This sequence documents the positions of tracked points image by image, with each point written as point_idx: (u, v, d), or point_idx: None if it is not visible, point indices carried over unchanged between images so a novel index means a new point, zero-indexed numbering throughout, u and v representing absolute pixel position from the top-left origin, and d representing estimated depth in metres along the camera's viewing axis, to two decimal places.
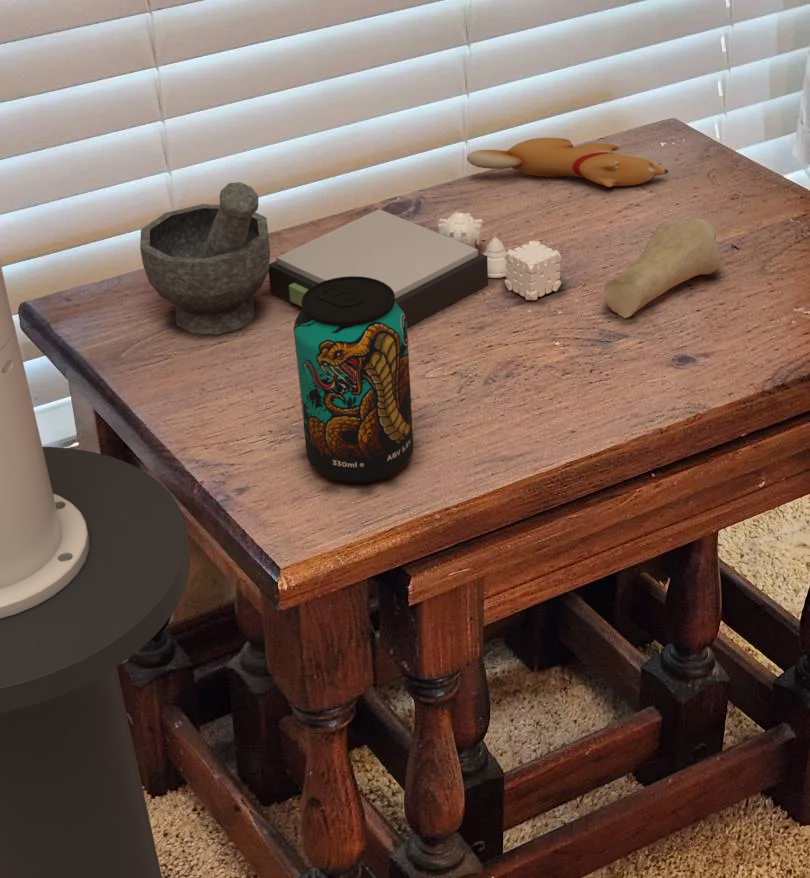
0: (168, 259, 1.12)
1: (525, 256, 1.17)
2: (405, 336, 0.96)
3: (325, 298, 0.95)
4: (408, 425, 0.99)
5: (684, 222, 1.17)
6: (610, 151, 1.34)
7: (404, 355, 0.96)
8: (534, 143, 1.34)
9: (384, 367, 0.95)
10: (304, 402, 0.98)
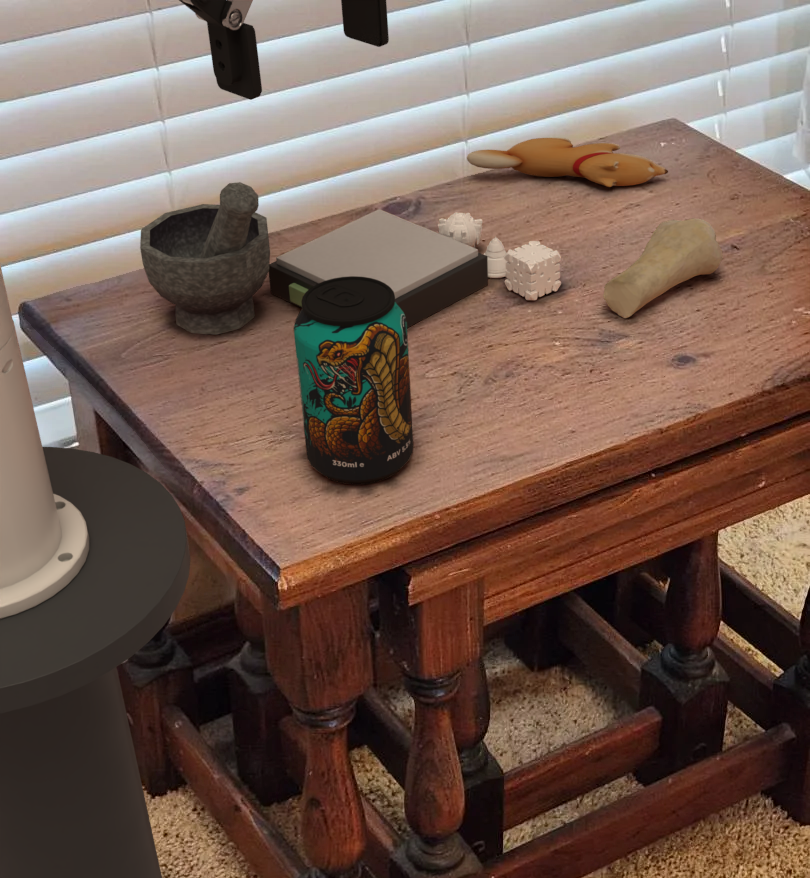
0: (168, 259, 1.12)
1: (525, 257, 1.17)
2: (405, 336, 0.96)
3: (325, 298, 0.95)
4: (408, 425, 0.99)
5: (684, 222, 1.17)
6: (610, 151, 1.34)
7: (404, 355, 0.96)
8: (534, 143, 1.34)
9: (384, 367, 0.95)
10: (304, 402, 0.98)
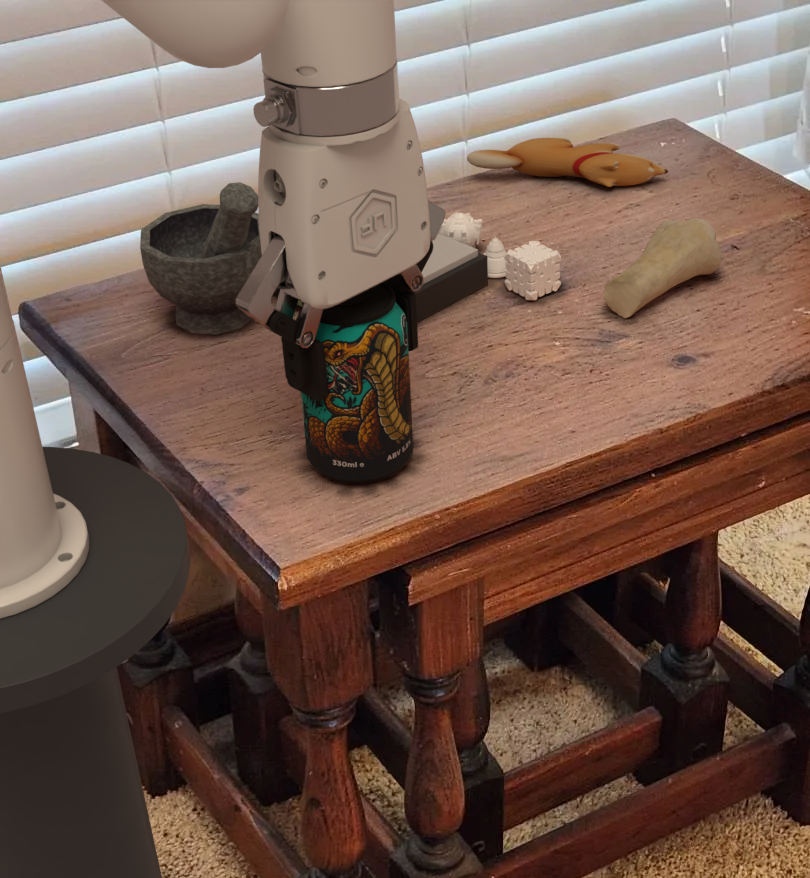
0: (168, 259, 1.12)
1: (525, 256, 1.17)
2: (405, 336, 0.96)
3: None
4: (408, 425, 0.99)
5: (684, 222, 1.17)
6: (610, 151, 1.34)
7: (404, 355, 0.96)
8: (534, 143, 1.34)
9: (385, 367, 0.95)
10: (304, 402, 0.98)
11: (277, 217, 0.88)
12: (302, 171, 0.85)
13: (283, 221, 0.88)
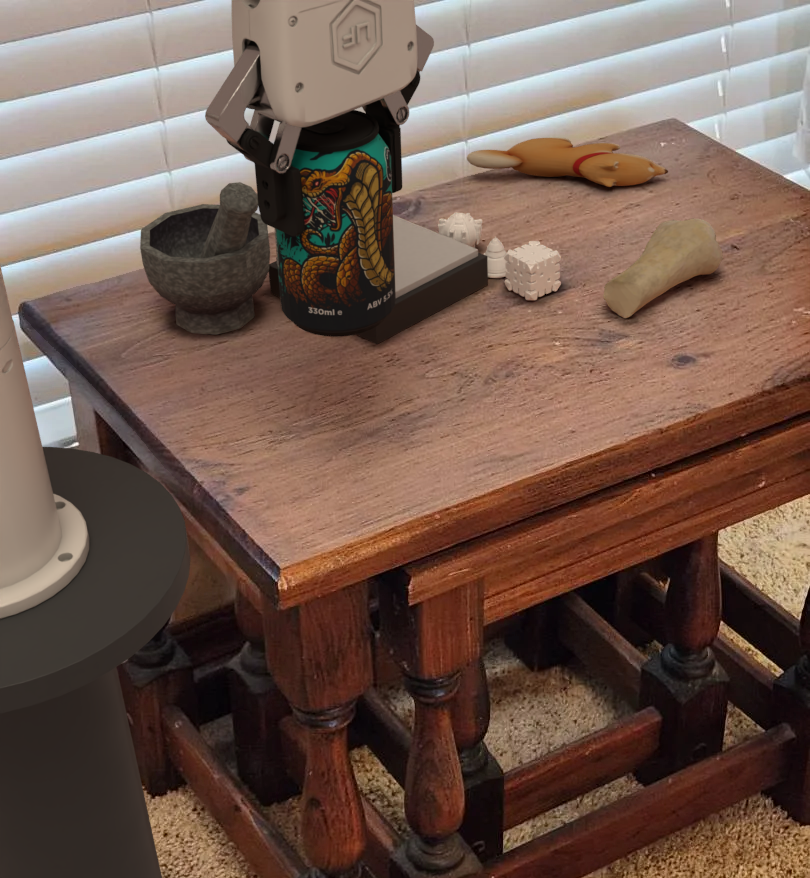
0: (168, 259, 1.12)
1: (525, 256, 1.17)
2: (389, 170, 0.89)
3: (303, 127, 0.88)
4: (390, 273, 0.92)
5: (684, 222, 1.17)
6: (610, 151, 1.34)
7: (387, 191, 0.89)
8: (534, 143, 1.34)
9: (366, 202, 0.88)
10: (279, 243, 0.91)
11: (251, 21, 0.81)
12: None
13: (258, 25, 0.81)
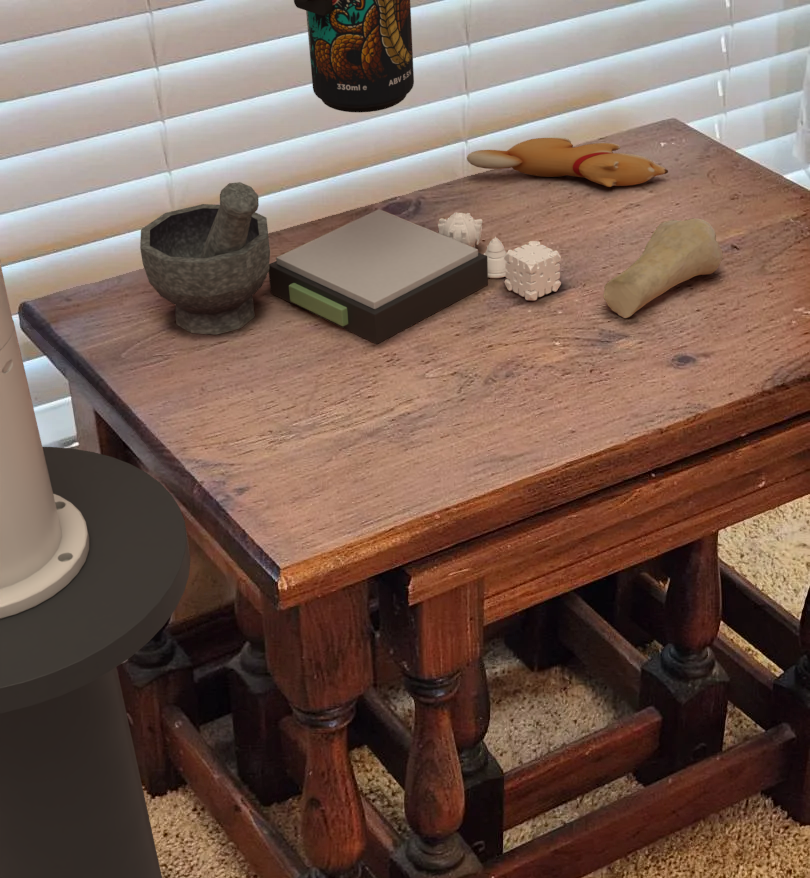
0: (168, 259, 1.12)
1: (525, 257, 1.17)
2: None
3: None
4: (409, 54, 1.05)
5: (684, 222, 1.17)
6: (610, 151, 1.34)
7: None
8: (534, 143, 1.34)
9: None
10: (311, 26, 1.04)
11: None
12: None
13: None
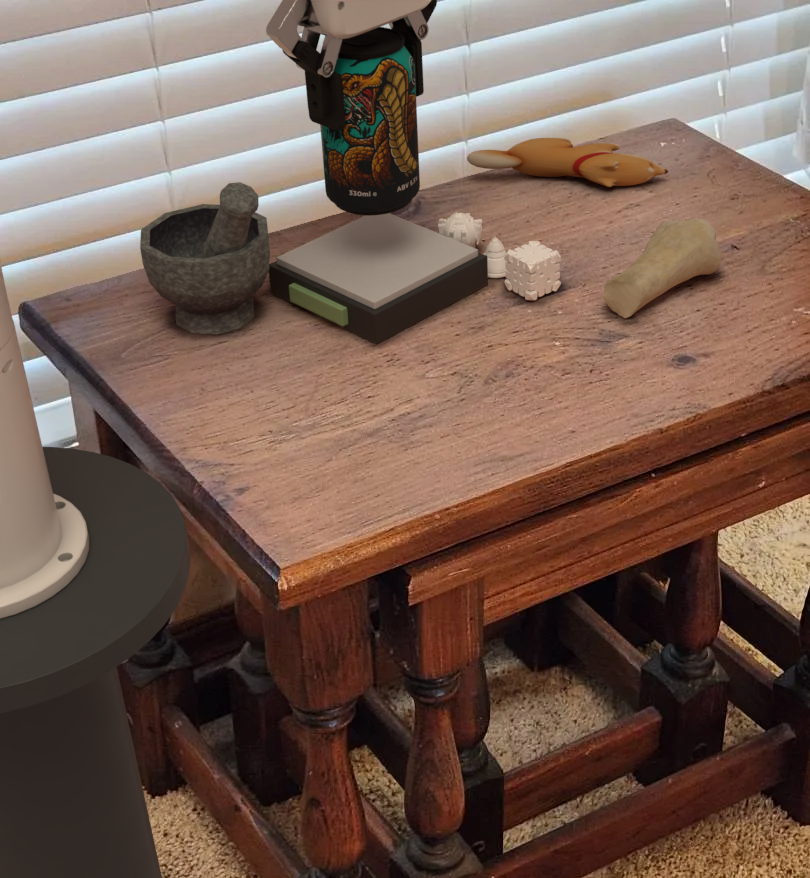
0: (168, 259, 1.12)
1: (525, 256, 1.17)
2: (413, 75, 1.10)
3: (343, 41, 1.09)
4: (415, 161, 1.13)
5: (684, 222, 1.17)
6: (610, 151, 1.34)
7: (412, 93, 1.10)
8: (534, 143, 1.34)
9: (395, 100, 1.09)
10: (324, 138, 1.12)
11: None
12: None
13: None
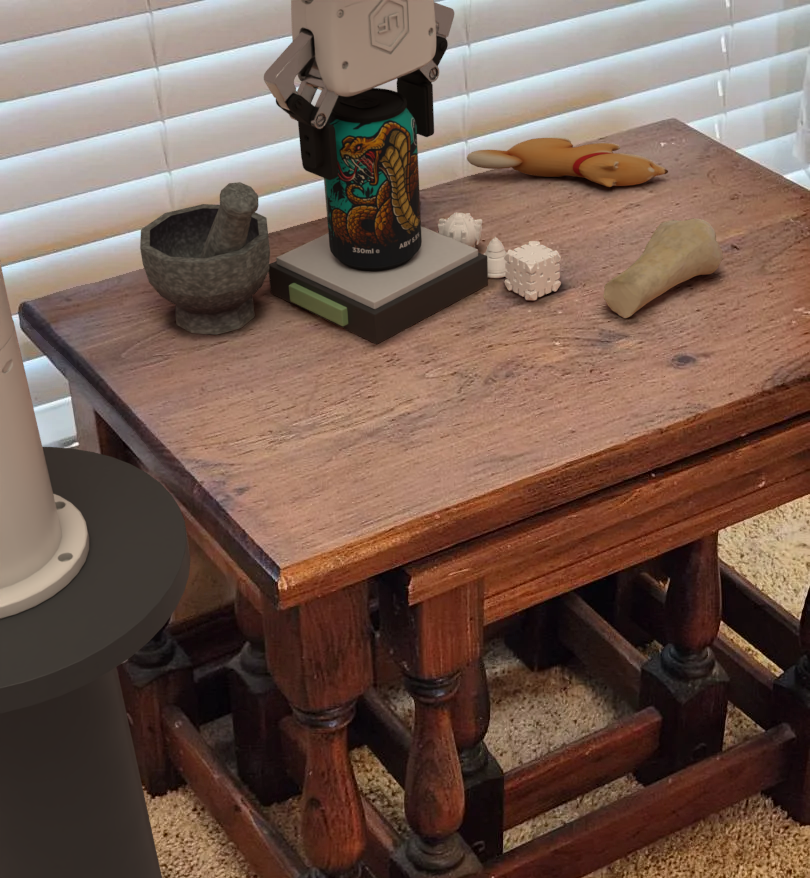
0: (168, 259, 1.12)
1: (525, 256, 1.17)
2: (415, 136, 1.12)
3: (347, 103, 1.12)
4: (417, 219, 1.16)
5: (684, 222, 1.17)
6: (610, 151, 1.34)
7: (414, 153, 1.13)
8: (534, 143, 1.34)
9: (397, 161, 1.11)
10: (328, 196, 1.14)
11: (307, 14, 1.04)
12: None
13: (312, 16, 1.04)
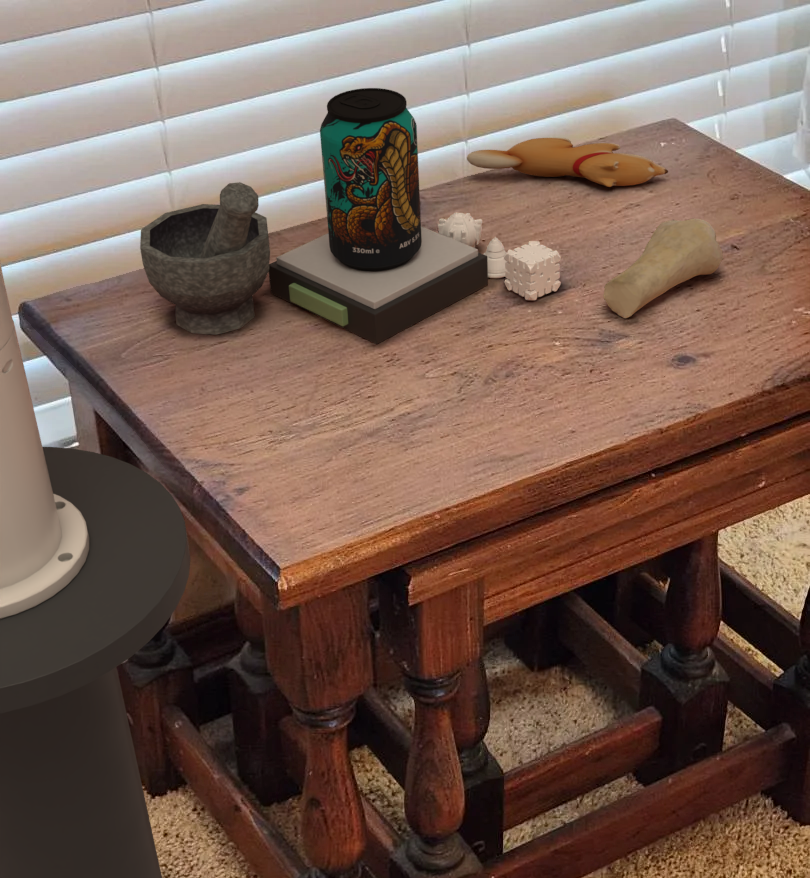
0: (168, 259, 1.12)
1: (525, 256, 1.17)
2: (415, 136, 1.12)
3: (347, 103, 1.12)
4: (417, 219, 1.16)
5: (684, 222, 1.17)
6: (610, 151, 1.34)
7: (414, 153, 1.13)
8: (534, 143, 1.34)
9: (397, 161, 1.11)
10: (328, 196, 1.14)
11: None
12: None
13: None
